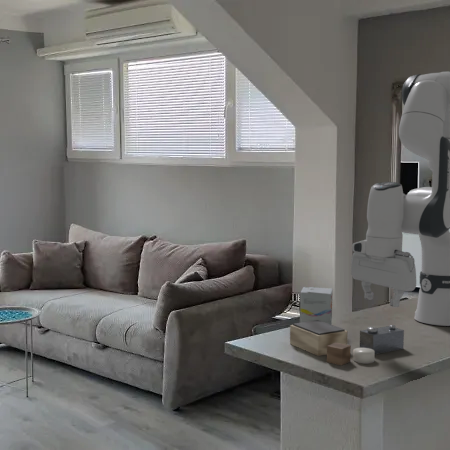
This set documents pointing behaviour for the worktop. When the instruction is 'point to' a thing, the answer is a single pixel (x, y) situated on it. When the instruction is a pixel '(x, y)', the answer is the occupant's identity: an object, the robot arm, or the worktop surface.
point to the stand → (316, 336)
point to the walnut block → (338, 353)
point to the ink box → (316, 304)
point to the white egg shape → (363, 355)
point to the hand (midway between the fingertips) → (381, 302)
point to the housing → (382, 339)
